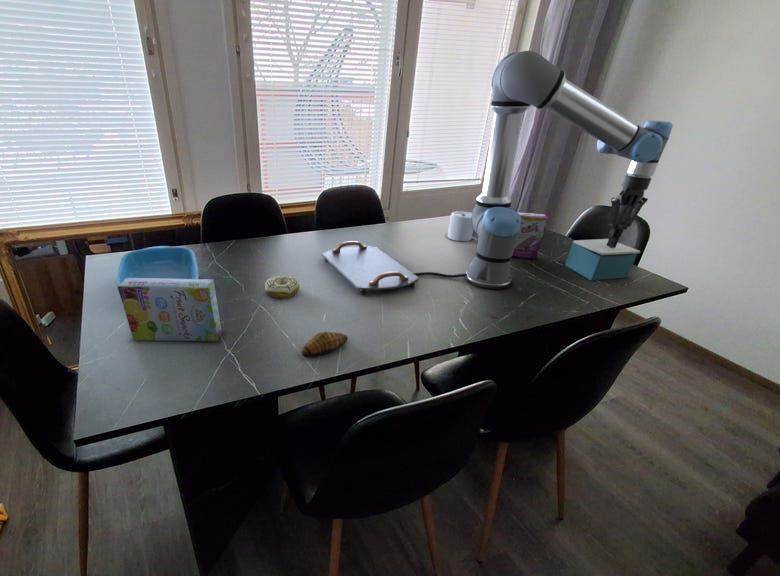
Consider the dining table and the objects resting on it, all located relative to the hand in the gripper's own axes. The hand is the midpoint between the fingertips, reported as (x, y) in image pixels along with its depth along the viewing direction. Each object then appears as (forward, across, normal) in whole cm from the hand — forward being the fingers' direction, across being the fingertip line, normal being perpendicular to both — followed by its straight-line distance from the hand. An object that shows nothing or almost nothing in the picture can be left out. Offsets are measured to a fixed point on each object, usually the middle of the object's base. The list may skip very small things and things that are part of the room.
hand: (610, 246), depth 149 cm
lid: (+1, 0, -2) cm, 2 cm away
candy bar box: (+11, +20, -21) cm, 31 cm away
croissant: (+10, +110, +32) cm, 115 cm away
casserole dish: (+10, +153, -12) cm, 154 cm away
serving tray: (+10, +86, -14) cm, 88 cm away
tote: (+10, 0, -2) cm, 11 cm away
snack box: (+10, +146, +19) cm, 148 cm away
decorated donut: (+10, +117, -3) cm, 118 cm away
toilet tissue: (+11, +34, -46) cm, 58 cm away
